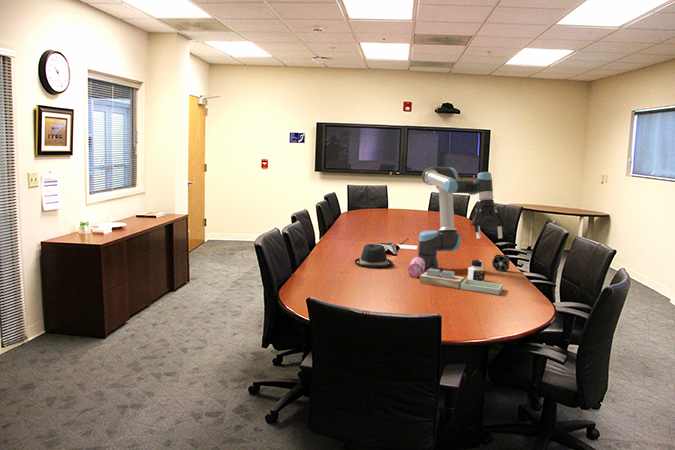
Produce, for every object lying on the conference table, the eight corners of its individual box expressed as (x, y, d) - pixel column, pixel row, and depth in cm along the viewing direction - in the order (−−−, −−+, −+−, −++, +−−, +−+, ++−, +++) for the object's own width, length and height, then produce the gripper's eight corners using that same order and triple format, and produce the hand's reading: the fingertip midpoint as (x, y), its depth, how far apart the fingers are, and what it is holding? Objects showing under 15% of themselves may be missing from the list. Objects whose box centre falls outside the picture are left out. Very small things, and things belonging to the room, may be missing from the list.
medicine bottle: (472, 282, 293) (474, 261, 291) (467, 279, 300) (468, 258, 298) (484, 282, 294) (486, 261, 293) (478, 278, 301) (480, 258, 300)
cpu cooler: (491, 270, 326) (492, 254, 325) (493, 268, 331) (494, 253, 330) (508, 272, 322) (509, 256, 320) (509, 270, 327) (511, 255, 325)
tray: (465, 284, 287) (466, 278, 287) (502, 289, 279) (503, 284, 278) (460, 289, 276) (460, 283, 276) (498, 295, 267) (499, 289, 267)
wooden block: (425, 278, 297) (426, 271, 297) (463, 284, 287) (464, 277, 287) (419, 282, 286) (419, 275, 286) (458, 288, 277) (459, 281, 276)
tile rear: (429, 273, 293) (430, 268, 292) (440, 274, 290) (440, 269, 290) (426, 275, 287) (426, 270, 287) (437, 276, 285) (437, 271, 284)
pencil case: (422, 278, 296) (423, 263, 295) (406, 277, 299) (407, 262, 297) (425, 271, 317) (426, 256, 316) (410, 269, 319) (411, 255, 318)
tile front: (443, 275, 289) (443, 270, 289) (454, 276, 286) (454, 271, 286) (440, 277, 284) (441, 272, 283) (451, 279, 281) (451, 273, 281)
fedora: (392, 260, 343) (393, 242, 341) (393, 270, 316) (394, 250, 314) (355, 258, 345) (356, 240, 344) (353, 267, 318) (353, 247, 317)
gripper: (470, 198, 276) (473, 237, 273) (510, 199, 283) (513, 237, 280) (462, 201, 283) (465, 239, 280) (502, 201, 290) (505, 239, 287)
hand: (489, 238), depth 280 cm, fingers open, 13 cm apart
